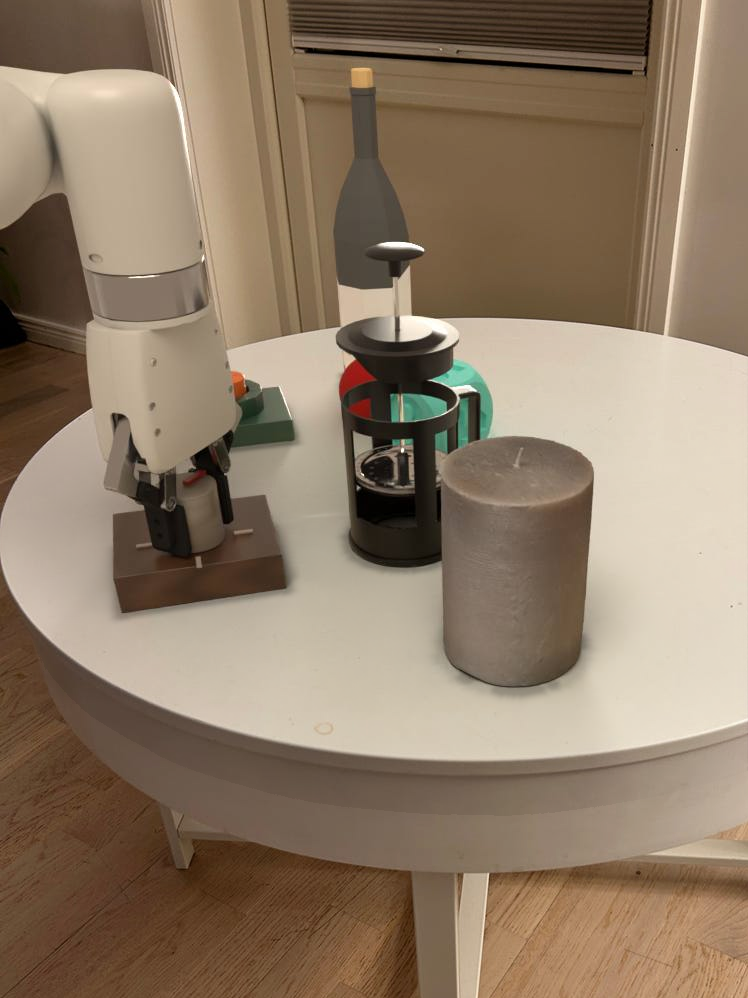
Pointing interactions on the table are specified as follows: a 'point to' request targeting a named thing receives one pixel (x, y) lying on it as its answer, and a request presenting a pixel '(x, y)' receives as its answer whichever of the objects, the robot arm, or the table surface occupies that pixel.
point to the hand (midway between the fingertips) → (194, 533)
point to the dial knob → (200, 509)
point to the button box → (262, 417)
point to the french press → (400, 426)
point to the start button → (238, 384)
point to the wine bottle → (367, 221)
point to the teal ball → (431, 407)
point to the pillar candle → (515, 557)
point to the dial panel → (197, 561)
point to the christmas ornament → (352, 378)
